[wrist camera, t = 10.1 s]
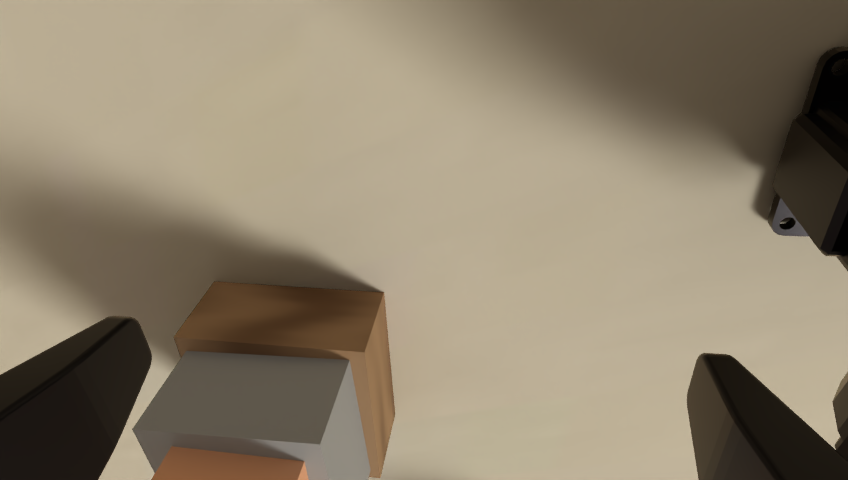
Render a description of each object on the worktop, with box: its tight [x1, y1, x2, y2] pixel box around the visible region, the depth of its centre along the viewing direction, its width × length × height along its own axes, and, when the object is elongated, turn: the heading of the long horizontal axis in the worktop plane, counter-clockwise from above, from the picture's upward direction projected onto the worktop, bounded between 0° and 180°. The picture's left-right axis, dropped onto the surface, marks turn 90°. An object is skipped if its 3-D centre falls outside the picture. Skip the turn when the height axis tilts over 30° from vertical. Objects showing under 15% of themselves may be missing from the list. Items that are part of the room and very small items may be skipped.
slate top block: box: [132, 351, 370, 480], centre depth 24 cm, size 7×7×4 cm
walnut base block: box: [174, 282, 395, 478], centre depth 27 cm, size 8×8×4 cm
